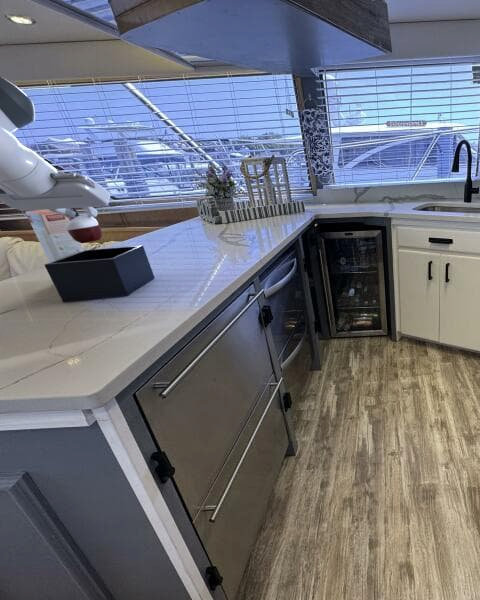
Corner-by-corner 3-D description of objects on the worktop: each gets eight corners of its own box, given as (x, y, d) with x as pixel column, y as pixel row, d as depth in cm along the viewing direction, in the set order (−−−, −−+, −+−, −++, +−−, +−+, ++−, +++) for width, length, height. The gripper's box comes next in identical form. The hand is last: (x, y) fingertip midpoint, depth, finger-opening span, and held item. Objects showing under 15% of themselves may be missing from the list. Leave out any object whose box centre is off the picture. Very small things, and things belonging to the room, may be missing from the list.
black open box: (62, 302, 81) (43, 264, 77) (99, 283, 94) (85, 250, 90) (128, 295, 83) (112, 258, 80) (154, 278, 97) (143, 245, 93)
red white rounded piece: (103, 241, 81) (80, 192, 76) (70, 246, 78) (44, 195, 73) (108, 236, 89) (88, 191, 84) (78, 241, 85) (55, 194, 81)
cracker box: (99, 282, 95) (67, 209, 87) (72, 289, 90) (36, 213, 82) (83, 275, 102) (52, 207, 94) (57, 281, 97) (22, 210, 89)
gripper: (84, 161, 71) (129, 202, 84) (-20, 165, 69) (43, 207, 81) (77, 184, 68) (125, 223, 81) (-31, 189, 66) (35, 228, 79)
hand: (83, 215), depth 81 cm, fingers closed on red white rounded piece, 4 cm apart
